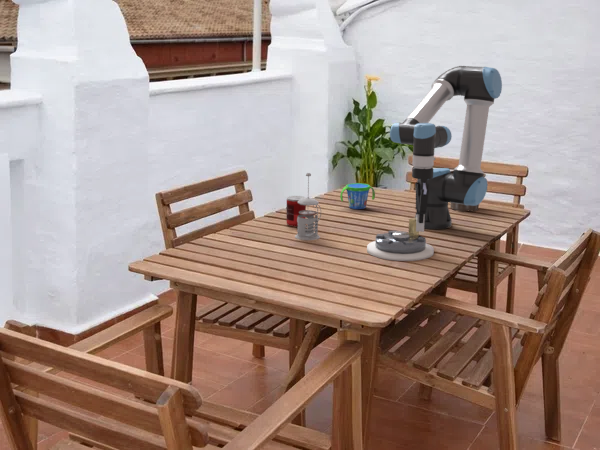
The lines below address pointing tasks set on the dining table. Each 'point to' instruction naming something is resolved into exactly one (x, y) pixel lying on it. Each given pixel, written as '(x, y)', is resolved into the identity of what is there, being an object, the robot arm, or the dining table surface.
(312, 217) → the french press
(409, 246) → the grey round piece
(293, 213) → the canned food
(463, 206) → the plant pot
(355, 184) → the snack cup
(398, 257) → the housing plate
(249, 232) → the dining table surface
